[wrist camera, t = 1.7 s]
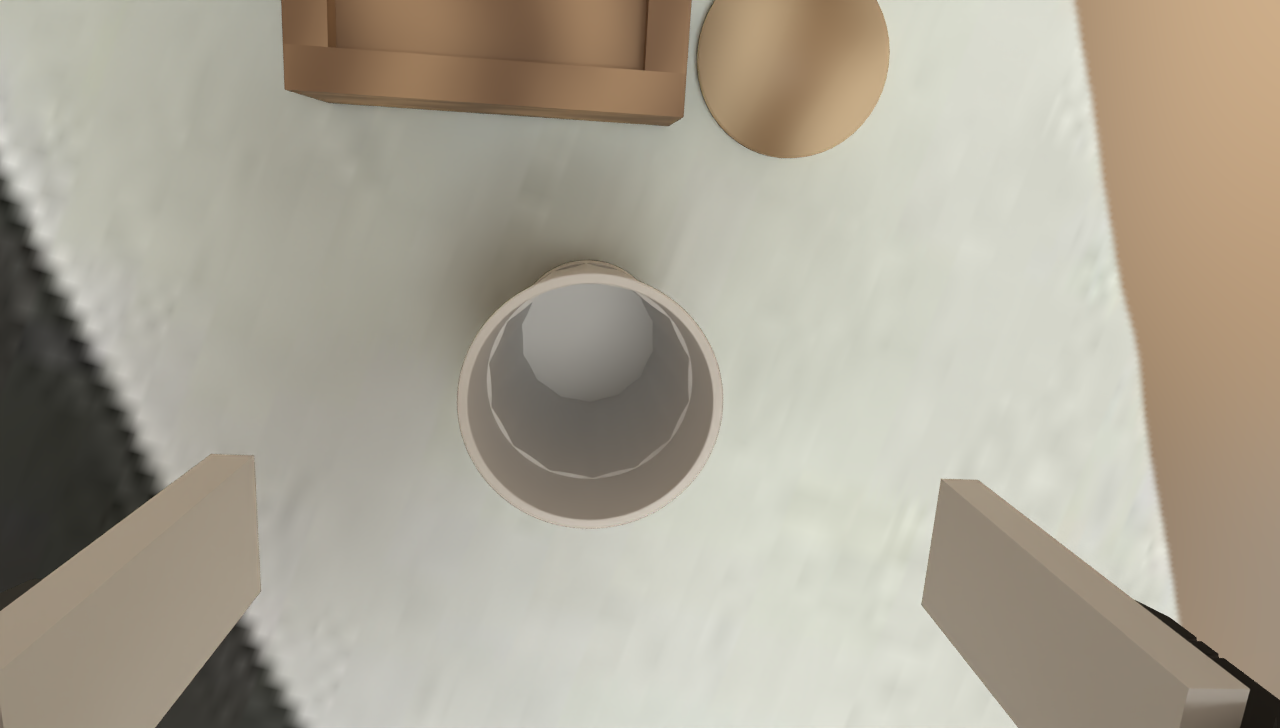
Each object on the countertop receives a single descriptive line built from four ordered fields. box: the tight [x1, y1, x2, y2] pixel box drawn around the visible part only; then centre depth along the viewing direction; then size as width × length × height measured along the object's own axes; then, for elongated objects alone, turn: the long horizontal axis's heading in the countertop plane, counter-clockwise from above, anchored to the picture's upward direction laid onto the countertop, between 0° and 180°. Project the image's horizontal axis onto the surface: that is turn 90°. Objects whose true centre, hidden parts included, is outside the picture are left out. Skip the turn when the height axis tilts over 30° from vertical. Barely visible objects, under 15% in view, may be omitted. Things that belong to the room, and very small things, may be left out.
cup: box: [457, 260, 723, 529], centre depth 30 cm, size 8×8×12 cm
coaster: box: [697, 0, 890, 158], centre depth 33 cm, size 8×8×1 cm
